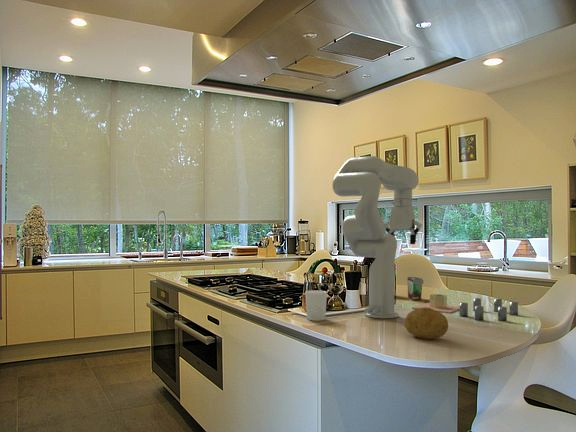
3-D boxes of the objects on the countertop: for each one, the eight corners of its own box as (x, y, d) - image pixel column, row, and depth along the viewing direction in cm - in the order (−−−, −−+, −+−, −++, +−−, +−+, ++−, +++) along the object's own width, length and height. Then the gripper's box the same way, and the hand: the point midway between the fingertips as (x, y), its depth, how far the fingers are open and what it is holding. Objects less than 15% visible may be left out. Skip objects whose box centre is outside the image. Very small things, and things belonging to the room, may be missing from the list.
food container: (426, 301, 219) (426, 279, 219) (413, 301, 219) (413, 279, 219) (419, 297, 231) (420, 276, 232) (407, 297, 231) (407, 276, 232)
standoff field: (502, 323, 169) (502, 309, 169) (454, 317, 179) (454, 304, 179) (521, 313, 189) (521, 300, 190) (477, 308, 200) (477, 296, 200)
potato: (415, 303, 154) (400, 304, 147) (455, 311, 144) (441, 311, 138) (412, 333, 153) (397, 334, 146) (452, 342, 144) (438, 344, 137)
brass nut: (442, 309, 195) (442, 296, 195) (428, 307, 198) (428, 295, 198) (448, 306, 200) (448, 294, 200) (434, 305, 204) (434, 293, 204)
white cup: (329, 318, 176) (329, 291, 176) (322, 322, 169) (322, 293, 169) (310, 316, 179) (310, 289, 179) (301, 320, 172) (302, 292, 172)
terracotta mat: (450, 313, 188) (450, 312, 188) (412, 308, 198) (412, 307, 198) (464, 308, 200) (464, 307, 200) (427, 304, 210) (427, 302, 210)
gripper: (380, 203, 205) (379, 243, 204) (417, 202, 194) (416, 244, 193) (389, 205, 211) (388, 243, 210) (425, 203, 199) (425, 244, 198)
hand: (402, 243), depth 201 cm, fingers open, 9 cm apart
